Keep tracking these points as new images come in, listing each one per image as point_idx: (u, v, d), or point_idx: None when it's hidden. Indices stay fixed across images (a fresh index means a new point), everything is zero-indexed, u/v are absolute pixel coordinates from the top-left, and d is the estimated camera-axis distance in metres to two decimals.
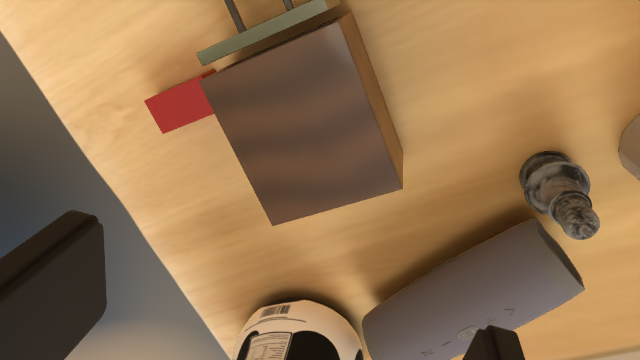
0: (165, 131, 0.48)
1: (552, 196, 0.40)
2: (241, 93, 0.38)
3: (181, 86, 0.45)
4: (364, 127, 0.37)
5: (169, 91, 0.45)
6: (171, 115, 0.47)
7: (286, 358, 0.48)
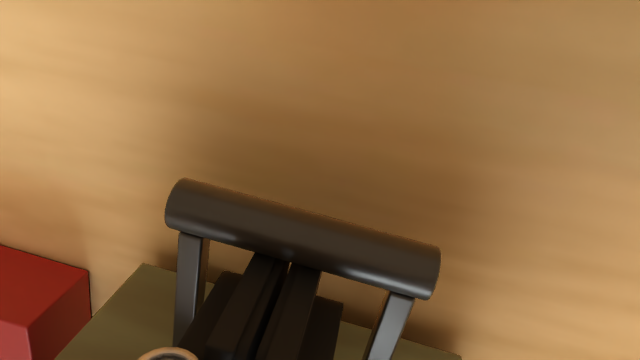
0: None
1: None
2: None
3: None
4: None
5: None
6: None
7: None
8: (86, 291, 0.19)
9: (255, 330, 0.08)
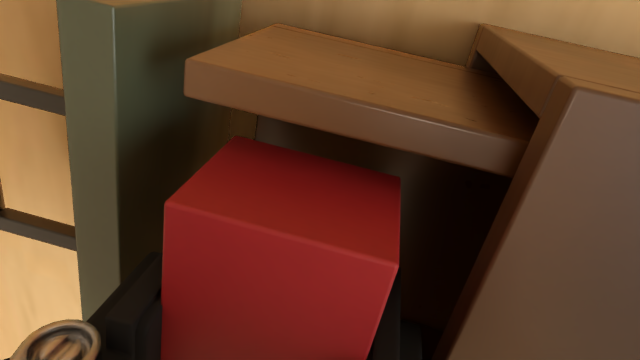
0: None
1: None
2: None
3: (167, 322, 0.08)
4: None
5: None
6: None
7: None
8: (273, 147, 0.10)
9: None
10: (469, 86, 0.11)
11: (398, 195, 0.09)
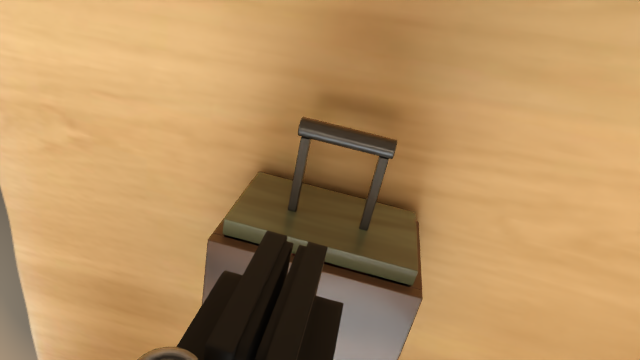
0: None
1: None
2: None
3: (331, 265, 0.31)
4: None
5: None
6: None
7: None
8: None
9: (255, 330, 0.08)
10: None
11: None
